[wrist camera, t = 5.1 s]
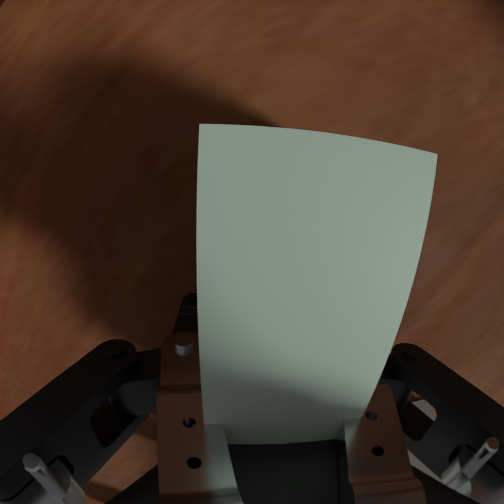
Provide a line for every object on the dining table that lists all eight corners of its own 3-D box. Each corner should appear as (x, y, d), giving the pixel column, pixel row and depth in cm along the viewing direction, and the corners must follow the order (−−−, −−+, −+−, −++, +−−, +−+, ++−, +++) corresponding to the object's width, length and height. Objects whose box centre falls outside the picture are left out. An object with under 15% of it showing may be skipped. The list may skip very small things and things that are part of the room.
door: (302, 139, 12) (437, 153, 3) (273, 385, 16) (293, 529, 8) (217, 134, 11) (164, 124, 3) (213, 384, 16) (206, 530, 8)
